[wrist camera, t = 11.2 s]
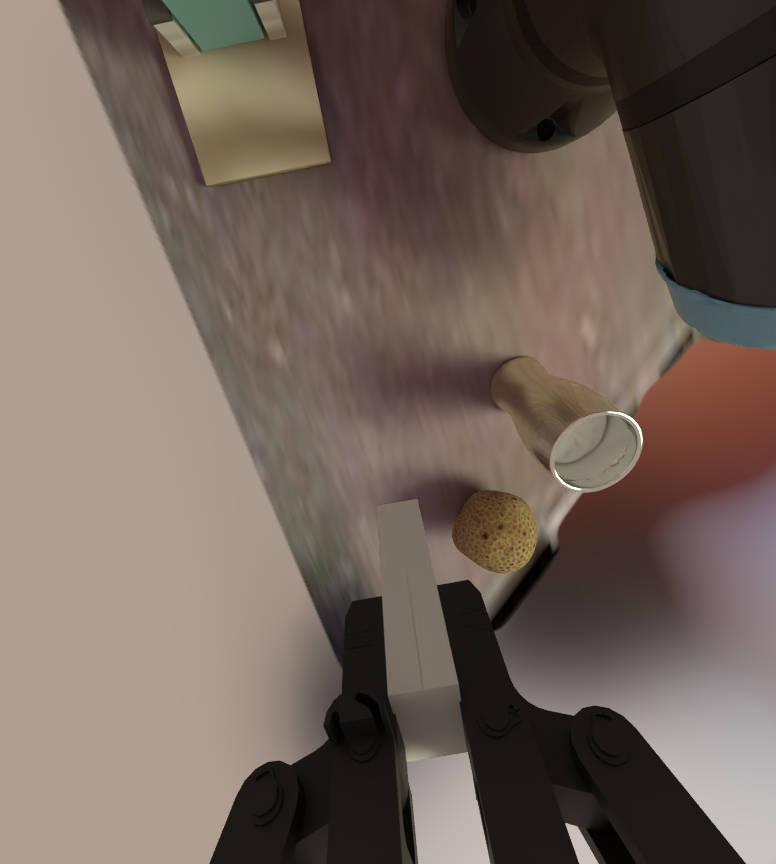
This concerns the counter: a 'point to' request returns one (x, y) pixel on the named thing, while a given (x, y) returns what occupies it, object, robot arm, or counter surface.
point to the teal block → (218, 21)
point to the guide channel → (247, 96)
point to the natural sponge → (496, 531)
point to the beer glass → (567, 426)
